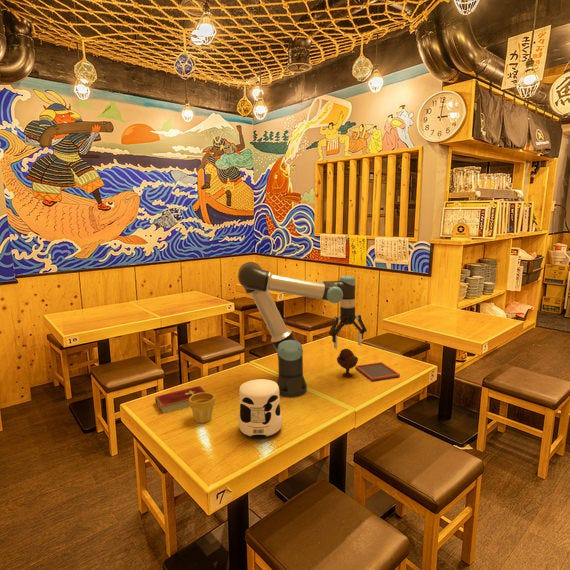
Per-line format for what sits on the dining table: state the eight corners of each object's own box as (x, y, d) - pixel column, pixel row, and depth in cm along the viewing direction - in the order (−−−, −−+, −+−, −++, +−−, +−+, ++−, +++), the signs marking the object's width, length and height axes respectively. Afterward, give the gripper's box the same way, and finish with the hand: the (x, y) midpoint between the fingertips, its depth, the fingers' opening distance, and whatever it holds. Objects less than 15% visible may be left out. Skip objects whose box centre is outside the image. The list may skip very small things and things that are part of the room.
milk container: (266, 414, 168) (265, 374, 165) (291, 431, 154) (290, 388, 151) (230, 428, 158) (228, 385, 155) (253, 447, 144) (251, 401, 141)
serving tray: (371, 381, 198) (371, 378, 198) (355, 368, 215) (355, 365, 215) (399, 377, 203) (399, 374, 202) (381, 365, 220) (381, 362, 219)
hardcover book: (155, 404, 181) (155, 395, 180) (200, 393, 192) (199, 384, 191) (162, 415, 171) (161, 406, 170) (208, 402, 181) (208, 393, 181)
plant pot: (204, 410, 173) (203, 389, 171) (220, 417, 166) (219, 396, 165) (185, 420, 165) (183, 398, 163) (201, 428, 158) (199, 405, 157)
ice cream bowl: (359, 379, 201) (360, 351, 198) (337, 380, 201) (337, 351, 199) (356, 371, 211) (356, 344, 209) (335, 371, 212) (335, 345, 209)
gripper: (327, 310, 193) (328, 352, 197) (373, 305, 200) (373, 346, 204) (321, 307, 200) (322, 347, 204) (366, 302, 207) (366, 341, 211)
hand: (347, 346), depth 204 cm, fingers open, 13 cm apart
